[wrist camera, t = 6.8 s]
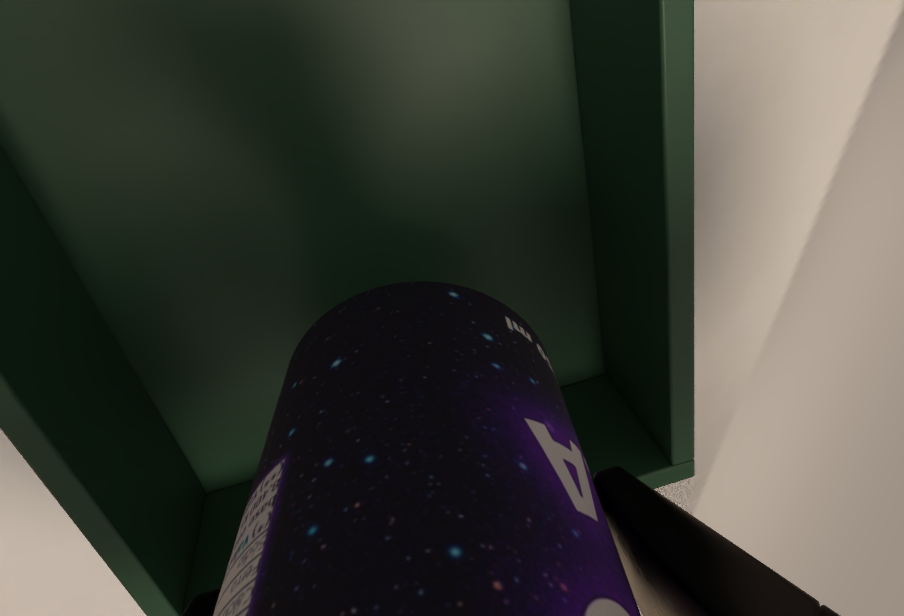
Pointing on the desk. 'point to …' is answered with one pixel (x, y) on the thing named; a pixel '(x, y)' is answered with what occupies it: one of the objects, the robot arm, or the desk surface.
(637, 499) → the robot arm
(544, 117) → the bin
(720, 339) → the desk surface
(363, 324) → the beverage can
